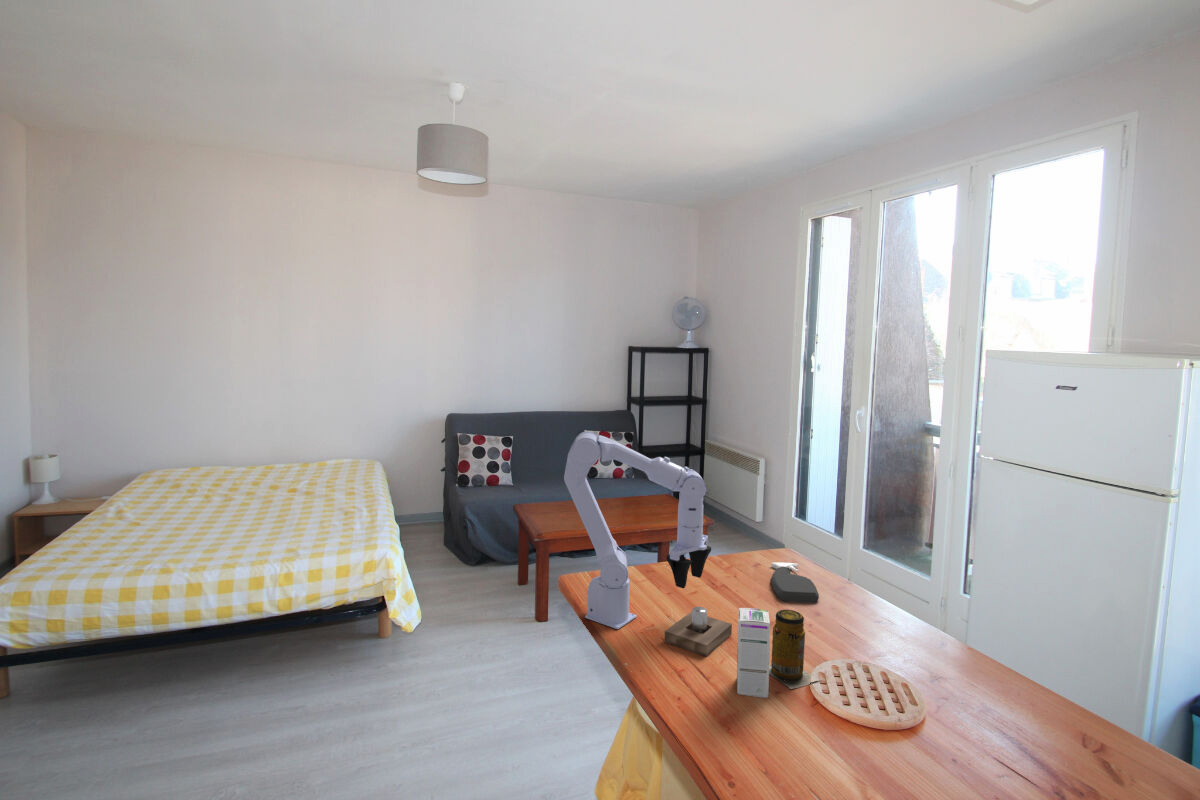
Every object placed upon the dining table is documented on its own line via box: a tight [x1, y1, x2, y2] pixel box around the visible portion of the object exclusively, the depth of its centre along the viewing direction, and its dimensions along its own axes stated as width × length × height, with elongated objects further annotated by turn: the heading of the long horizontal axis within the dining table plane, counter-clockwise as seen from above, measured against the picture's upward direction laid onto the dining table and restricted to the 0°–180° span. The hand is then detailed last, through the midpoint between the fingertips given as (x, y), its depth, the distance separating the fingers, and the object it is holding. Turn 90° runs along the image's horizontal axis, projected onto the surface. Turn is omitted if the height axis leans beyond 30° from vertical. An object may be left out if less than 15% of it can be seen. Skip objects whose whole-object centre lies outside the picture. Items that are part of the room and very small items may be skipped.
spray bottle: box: [770, 561, 820, 604], centre depth 166 cm, size 3×11×24 cm
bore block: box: [664, 611, 733, 658], centre depth 135 cm, size 10×12×2 cm
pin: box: [691, 606, 708, 634], centre depth 135 cm, size 3×3×6 cm
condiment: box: [769, 609, 812, 690], centre depth 121 cm, size 7×8×12 cm
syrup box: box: [736, 607, 771, 699], centre depth 116 cm, size 6×6×14 cm
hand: (688, 581), depth 143 cm, fingers open, 7 cm apart
